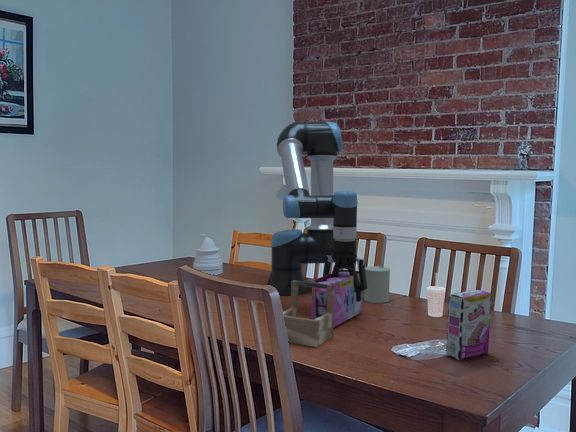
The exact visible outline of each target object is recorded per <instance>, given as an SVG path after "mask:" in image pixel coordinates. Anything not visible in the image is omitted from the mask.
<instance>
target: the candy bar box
mask: <svg viewBox="0 0 576 432" xmlns="http://www.w3.org/2000/svg"><path fill="white" fill-rule="evenodd" d="M491 306H492V293H490V292H488V291H483V290H479V289H474V290H469V291H461V292H454V293H449V294H448V307H447V308H448V309H447V311H448V312H447V328H446V329H447V331H446V350H445V356H446V357H449V358H451V359H454V360H456V361H462V360H463V361H464V360H467V359H471V358H475V357H479V356H483V355H487V354H488V353H489V343H490V342H489V341H490V326H491V325H490V321H491Z"/></svg>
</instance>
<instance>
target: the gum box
mask: <svg viewBox="0 0 576 432" xmlns="http://www.w3.org/2000/svg"><path fill="white" fill-rule="evenodd" d="M355 271H356V273H357V276H358V279H359V282H360V277H359V270H355ZM332 274H333V273H332V272H331V273H329V275H326V276H323V275H322V276H323V277H322V276H321V277H318V278H315V279H313V280H312V281H311V282H313V283H321V284H331V285H334V327H333V329H334V328H335V327H337V326H339V325H341V324H343V323H344V322H346V321H348V320H349V319H352V318H353V317H355V316H357V315H359V314H360V313H363V291H362V292H361V301H360V302H359V309H358V311H357V312H353V302H354V292H355V291H356V290H355V287H354V277H353V276H350V273H349V272H348V270H347V269H340V270H339V272H338V274H337V276H336V277H333V278H332ZM310 310H311V311H310V319H313V320H314V319H316V318H318V317H320V316H322V315H324V314H326V313H327V289H326V288H318V287H311V309H310Z"/></svg>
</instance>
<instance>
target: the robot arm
mask: <svg viewBox="0 0 576 432" xmlns="http://www.w3.org/2000/svg"><path fill="white" fill-rule="evenodd" d="M342 145H343V139H342V132H341V129H340V127H339V125H338V124H337V122H332V121H302V120H301V121H300V120H299V121H294V122H292V123H290V124H289V123H288V125H287V126H285V127H284V129H282V131H281V132H280V134H279V136H278V137H277V140H276V150H277V154H278V157H280V159H281V164H282V165H281V166H282V171H283V176H284V177H283V178H284V181H285V182H284V183H285V188H286V195H284V196H283V199H282V213H283V216H284V218H286V219H297V220H298V219H310V224H309V226H307V227H306V233H305V232H303V230H302V229H300V228H299V229H296V228H295V229H285V230H281V231H277V232H275V233H273V234H272V236H271V243H270V247H271V267H270V269H271V272H270V275H269V278H268V281H267V283H266V286H267V285H271V286H273V287H275V288H276V289H277V290H278V292H279V294H280V296H291V281H293V280H297V281H304V282H306V281H305V277H304V275H303V267H302V265H305V264H306V265H307V264H308V265H310V264H312V265H313V264H324V265H323V270H322V271H323V272H322V276H321V277H323V276H326V275H329V274H330V272H331V273H333V274H332V278H333V277H336V276H337V274H338V272H339V270H341V269H343V270H348V272H349V273H350V276H353V277H354V287H355V290H356V291H355V292H354V302H353V312H357V311H358V309H359V302H360V301H361V292H362V293H363V292H364V290H366V289H367V281H366V273H365V265H366V258H359V257H358V256H357V232H358V231H357V229H358V226H357V223H358V220H357V219H358V216H357V215H358V194H357V192H356V191H354V190H353V191H351V190H346V191H345V190H338V191H337V190H336V191H335V192H334V161H335V160H336V159H337V158H338V154H339V153H341V152H342V148H343V146H342ZM303 153H306V158H307V160H309V162H310V189H309V185H308V179H307V174H306V170H305V165H304V160H303ZM331 264H334V265H333V268H332V271H330V270H331V266H332V265H331ZM355 264H356V265H358V266H357V269H358V270H356V267H355ZM356 271H359V277H360V282H359V279H358V276H357V273H356ZM306 292H307V286H301V285H298V295H302V294H305V293H306Z"/></svg>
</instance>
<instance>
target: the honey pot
mask: <svg viewBox="0 0 576 432" xmlns="http://www.w3.org/2000/svg"><path fill="white" fill-rule="evenodd" d="M199 237H200V238H201V239H202V241H201V242H200V245H199V246H198V247H197V248H195V251H196V254H195V256H194V261H193V264H192V269H193V268H194V269H196V270H199V271H201V272H204V273H208V274H211V275H213V274H214V275H218V274H221V273H223V274H224V266H223V265H224V264H223V262H222V258H221V255H220V253H219V251H220V248H219V247H217V246H216V244H215V242H214V240H213V239H212V238H210V237H207V234H203V233H202V234H201V233H200V235H199Z"/></svg>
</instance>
